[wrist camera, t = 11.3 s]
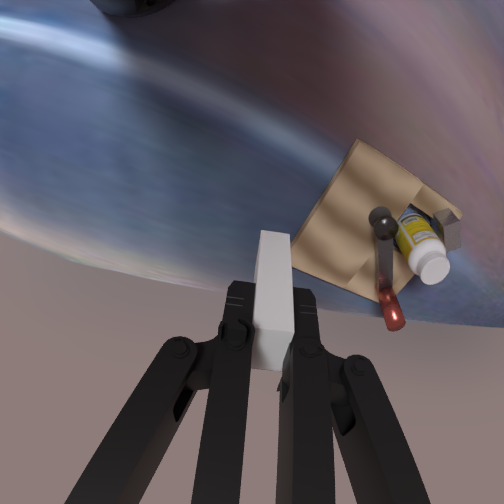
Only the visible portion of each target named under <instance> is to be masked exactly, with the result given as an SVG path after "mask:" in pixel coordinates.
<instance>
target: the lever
mask: <svg viewBox="0 0 504 504" xmlns="http://www.w3.org/2000/svg"><path fill="white" fill-rule="evenodd" d="M398 229H399V227H398V223H397V222H396V220H395V219H394V218H393V217H392V216H388V215H386V216H382V217H380V218H378V219H377V220H376V221H374V226H373V231H374V236H375V258H376V284H375V291H376V294H377V297H378V300H379V303H380V306H381V309H382V313H383V316H384V319H385V322H386V325H387V329H388V330H389V331H398V330H400V329H401V328H403V327H404V325H405V323H406V322H405V319H404V316H403V313H402V310H401V308H400V305H399V302H398V300H397V297H396V294H395V292H394V289H393V237H395V235H396V234H397V232H398Z"/></svg>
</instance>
